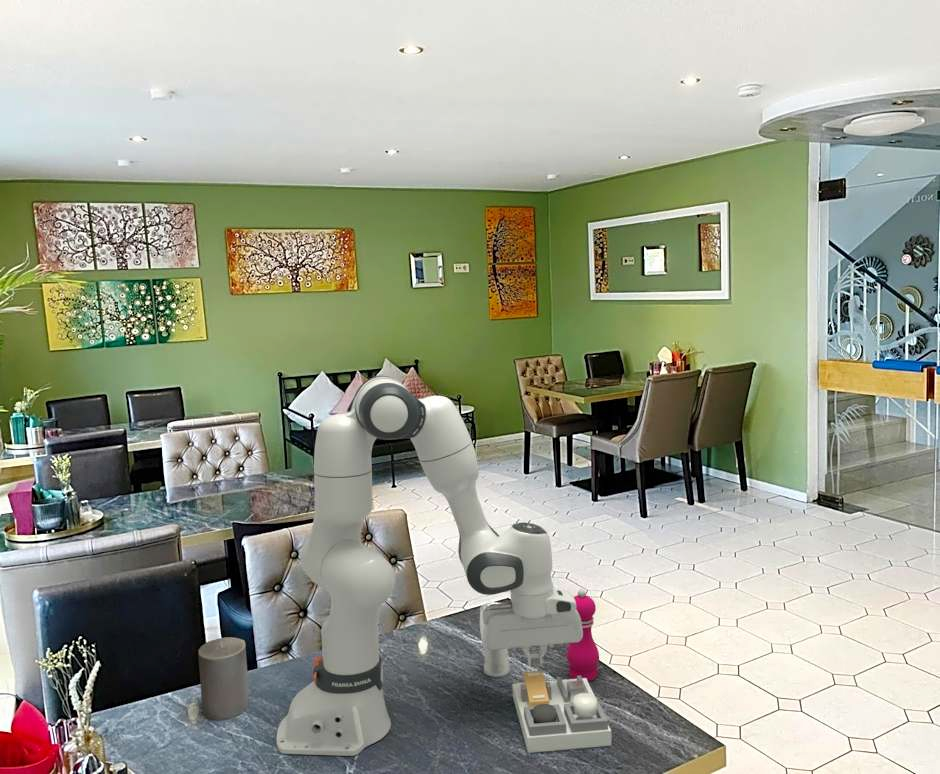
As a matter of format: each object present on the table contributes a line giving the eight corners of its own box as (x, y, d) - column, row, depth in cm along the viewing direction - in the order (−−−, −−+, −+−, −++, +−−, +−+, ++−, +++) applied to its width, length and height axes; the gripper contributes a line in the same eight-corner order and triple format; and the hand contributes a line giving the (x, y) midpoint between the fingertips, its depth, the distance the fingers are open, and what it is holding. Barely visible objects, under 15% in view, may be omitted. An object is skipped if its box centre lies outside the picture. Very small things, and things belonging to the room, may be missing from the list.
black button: (535, 729, 145) (535, 717, 144) (531, 716, 149) (531, 704, 149) (558, 727, 145) (558, 715, 145) (553, 715, 149) (553, 703, 149)
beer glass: (517, 667, 176) (515, 605, 174) (502, 680, 170) (500, 616, 168) (491, 660, 179) (489, 599, 178) (475, 673, 174) (473, 610, 172)
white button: (576, 718, 145) (576, 706, 145) (571, 705, 150) (571, 693, 149) (599, 716, 146) (599, 704, 145) (593, 704, 150) (593, 692, 150)
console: (528, 752, 143) (527, 723, 142) (512, 697, 163) (512, 671, 162) (611, 745, 145) (611, 716, 144) (586, 691, 164) (585, 665, 164)
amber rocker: (529, 706, 153) (529, 701, 152) (523, 676, 160) (523, 670, 159) (549, 705, 153) (549, 699, 152) (542, 674, 160) (542, 669, 160)
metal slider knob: (570, 703, 154) (570, 689, 154) (567, 695, 157) (567, 681, 157) (585, 701, 154) (584, 687, 154) (581, 694, 157) (581, 680, 157)
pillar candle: (194, 709, 163) (188, 643, 161) (235, 690, 170) (230, 627, 168) (217, 726, 156) (211, 657, 154) (259, 706, 163) (254, 640, 161)
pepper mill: (598, 684, 167) (597, 596, 165) (565, 681, 169) (563, 595, 166) (600, 668, 174) (598, 584, 172) (568, 665, 176) (566, 582, 173)
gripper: (483, 611, 153) (487, 676, 155) (583, 602, 155) (585, 666, 157) (480, 598, 159) (483, 660, 161) (576, 590, 161) (578, 652, 163)
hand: (534, 663), depth 159 cm, fingers closed
